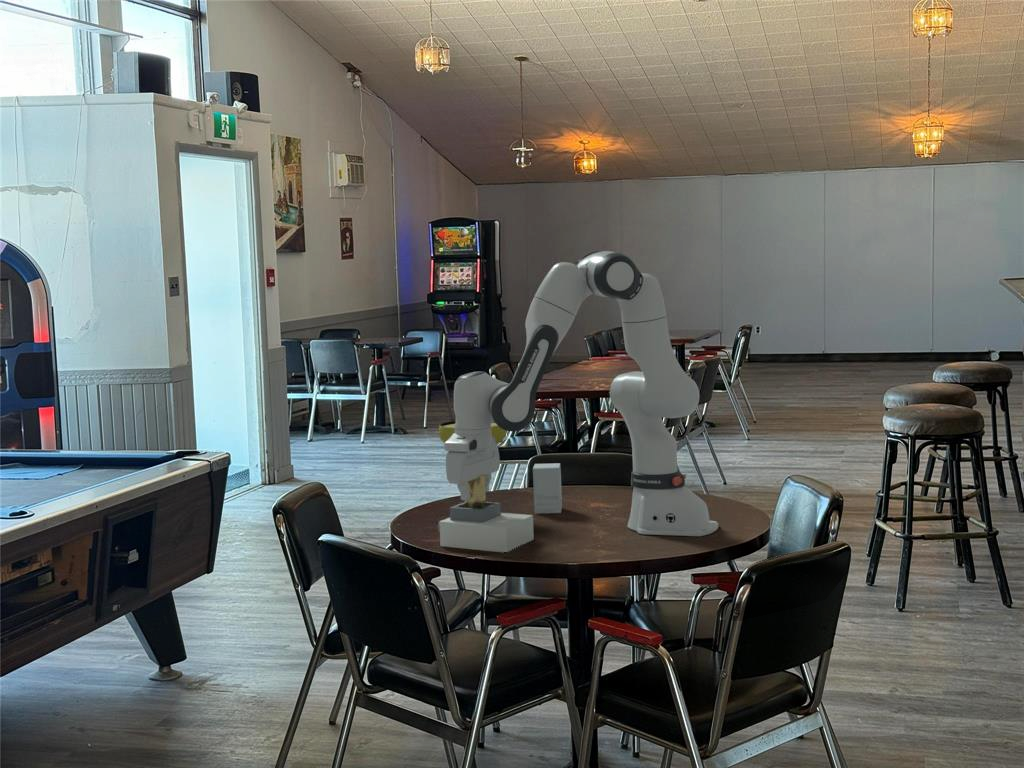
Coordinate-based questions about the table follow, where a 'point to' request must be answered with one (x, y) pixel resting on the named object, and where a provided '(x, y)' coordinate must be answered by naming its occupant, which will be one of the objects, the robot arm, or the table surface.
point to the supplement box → (547, 488)
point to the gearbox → (485, 528)
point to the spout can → (476, 493)
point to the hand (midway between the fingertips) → (475, 495)
